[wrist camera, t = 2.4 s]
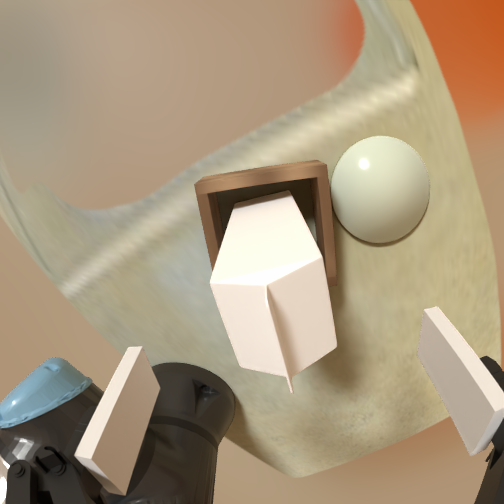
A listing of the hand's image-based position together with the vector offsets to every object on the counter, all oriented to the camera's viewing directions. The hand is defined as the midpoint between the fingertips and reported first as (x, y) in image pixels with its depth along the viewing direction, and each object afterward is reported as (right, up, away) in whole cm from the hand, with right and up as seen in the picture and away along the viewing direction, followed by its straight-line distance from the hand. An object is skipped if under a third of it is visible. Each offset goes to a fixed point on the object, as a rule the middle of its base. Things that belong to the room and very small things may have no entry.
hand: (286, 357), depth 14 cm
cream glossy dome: (+13, +12, +19) cm, 26 cm away
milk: (0, +8, +21) cm, 23 cm away
